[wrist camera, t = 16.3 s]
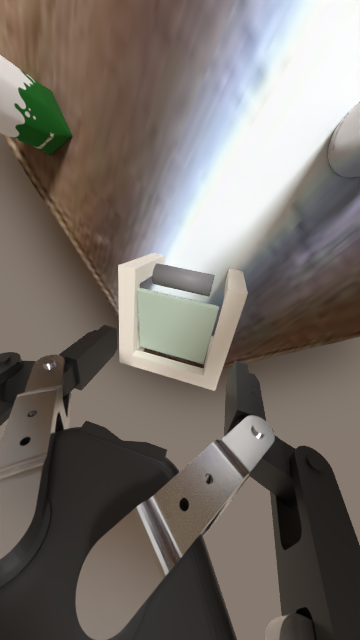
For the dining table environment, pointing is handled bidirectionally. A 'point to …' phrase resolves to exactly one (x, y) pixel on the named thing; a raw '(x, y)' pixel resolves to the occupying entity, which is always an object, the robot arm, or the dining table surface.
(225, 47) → the dining table surface
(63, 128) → the milk carton
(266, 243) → the dining table surface
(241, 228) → the dining table surface
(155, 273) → the trapdoor
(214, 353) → the trapdoor stand
